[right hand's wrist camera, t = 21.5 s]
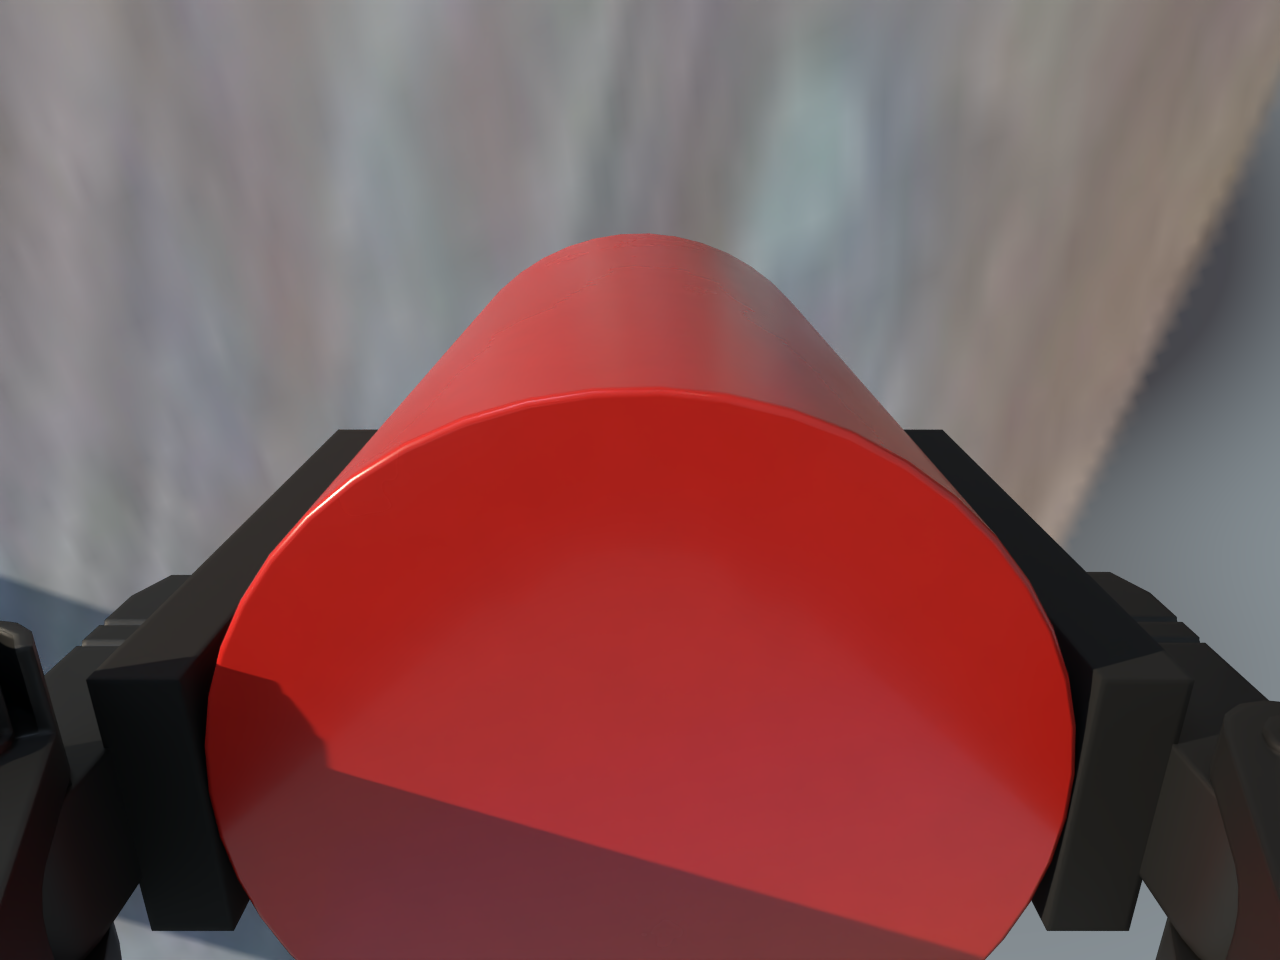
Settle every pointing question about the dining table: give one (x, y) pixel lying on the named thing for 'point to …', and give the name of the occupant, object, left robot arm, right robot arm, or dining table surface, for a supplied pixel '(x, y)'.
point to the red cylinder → (640, 655)
